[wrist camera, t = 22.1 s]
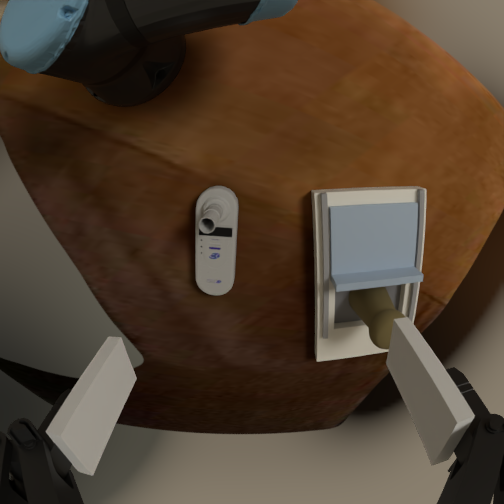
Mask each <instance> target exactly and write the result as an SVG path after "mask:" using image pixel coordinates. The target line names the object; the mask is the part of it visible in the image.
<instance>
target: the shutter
mask: <svg viewBox="0 0 504 504" xmlns="http://www.w3.org/2000/svg"><path fill="white" fill-rule="evenodd" d="M329 213H330V259H331V282H332V284H333V286H334V288H335V290H336V292H340V291H350V290H359V289H367V288H376V287H384V286H392V285H400V284H408V283H415V282H422V281H423V274H422V273H421V272H420V271H419V270H418V269H417V268H416V267H414V263H415V252H416V238H417V220H418V203H417V202H406V203H382V204H362V205H345V206H329Z"/></svg>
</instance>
